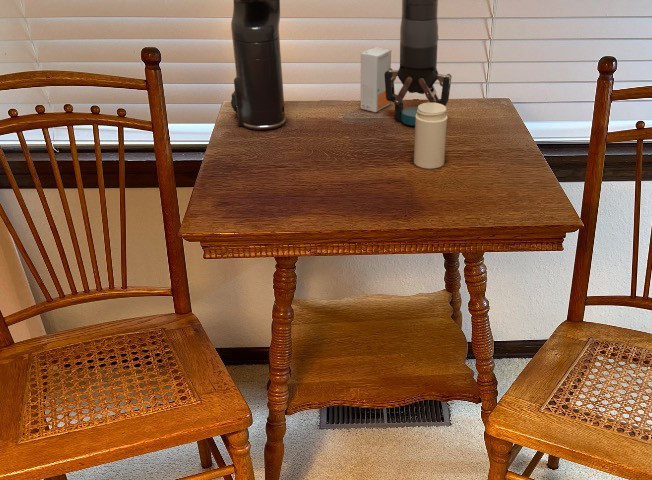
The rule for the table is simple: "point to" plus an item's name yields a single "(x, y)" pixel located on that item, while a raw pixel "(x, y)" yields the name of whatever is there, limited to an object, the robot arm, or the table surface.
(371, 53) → the cosmetic box
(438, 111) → the white jar
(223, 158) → the table surface
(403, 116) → the jam lid
